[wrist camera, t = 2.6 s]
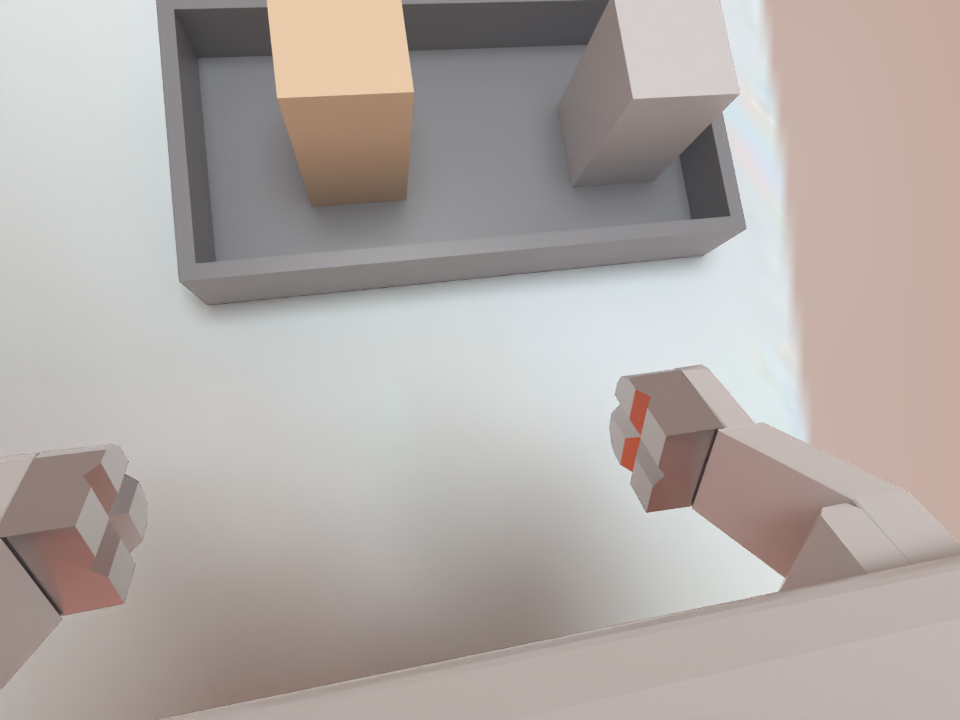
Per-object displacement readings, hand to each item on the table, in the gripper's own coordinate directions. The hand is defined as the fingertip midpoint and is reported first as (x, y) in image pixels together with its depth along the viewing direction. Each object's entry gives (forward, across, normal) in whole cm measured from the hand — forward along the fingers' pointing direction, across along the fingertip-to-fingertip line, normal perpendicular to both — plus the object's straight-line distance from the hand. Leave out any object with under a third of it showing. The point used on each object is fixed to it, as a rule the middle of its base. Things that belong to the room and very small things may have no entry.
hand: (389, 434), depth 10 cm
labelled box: (+19, 0, +2) cm, 19 cm away
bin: (+19, -4, +2) cm, 20 cm away
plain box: (+19, -12, +2) cm, 22 cm away
